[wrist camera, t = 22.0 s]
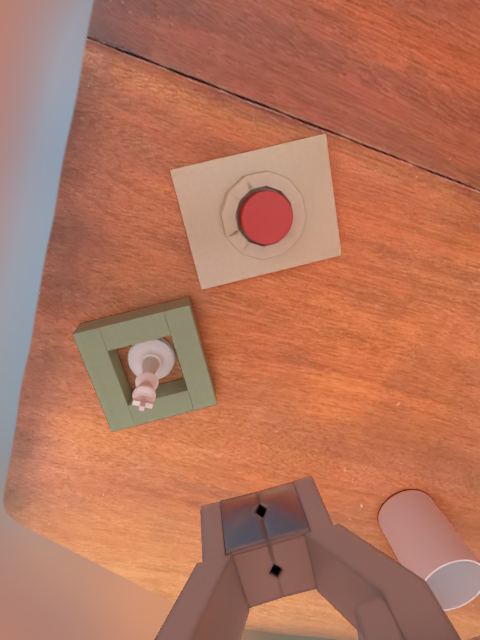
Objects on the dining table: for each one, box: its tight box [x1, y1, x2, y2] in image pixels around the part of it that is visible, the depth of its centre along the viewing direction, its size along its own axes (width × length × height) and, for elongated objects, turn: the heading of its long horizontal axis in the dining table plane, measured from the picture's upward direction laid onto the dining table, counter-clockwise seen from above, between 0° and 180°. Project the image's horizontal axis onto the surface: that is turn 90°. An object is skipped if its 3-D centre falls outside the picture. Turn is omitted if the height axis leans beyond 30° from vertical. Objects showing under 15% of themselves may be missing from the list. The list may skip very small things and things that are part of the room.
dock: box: [73, 297, 217, 432], centre depth 40 cm, size 11×11×3 cm
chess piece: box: [128, 338, 176, 411], centre depth 37 cm, size 5×5×10 cm
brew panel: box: [170, 134, 342, 290], centre depth 36 cm, size 14×11×4 cm
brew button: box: [239, 190, 293, 245], centre depth 34 cm, size 4×4×2 cm
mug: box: [378, 490, 480, 611], centre depth 49 cm, size 12×8×10 cm, turn 168°
